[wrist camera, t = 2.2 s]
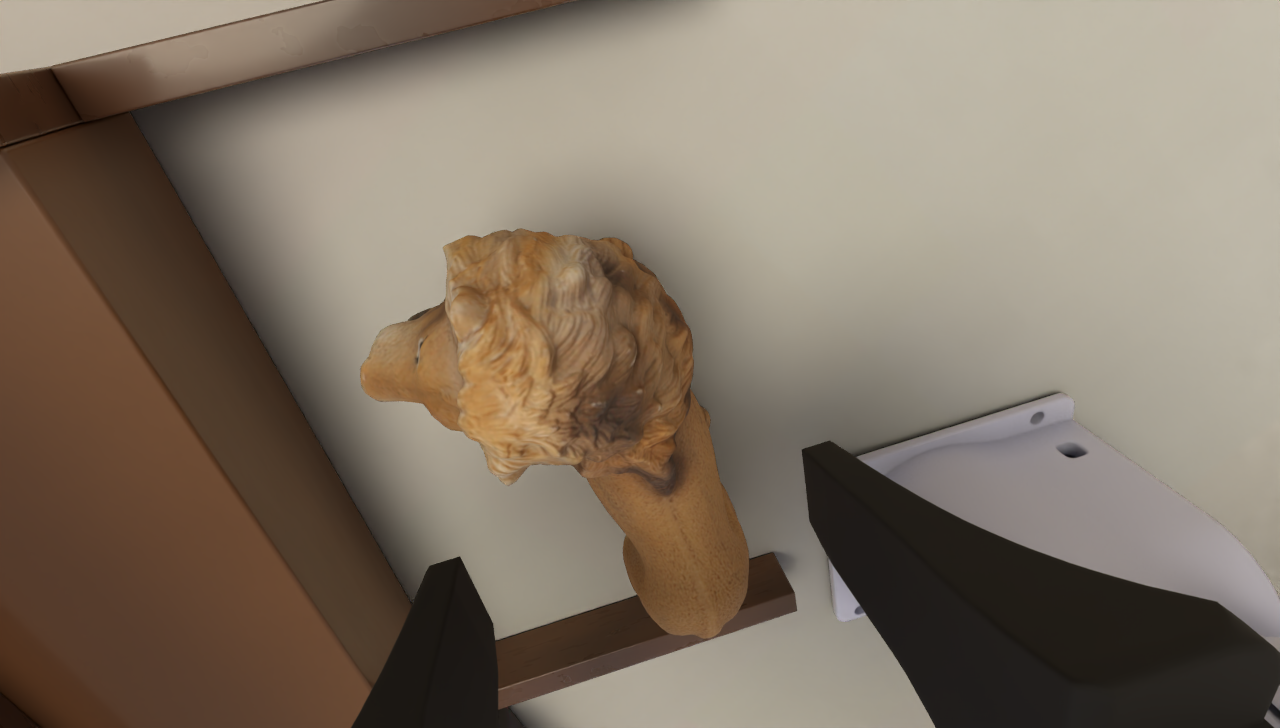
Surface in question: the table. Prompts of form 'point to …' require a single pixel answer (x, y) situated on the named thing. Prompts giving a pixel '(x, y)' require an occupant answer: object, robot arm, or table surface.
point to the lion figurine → (581, 402)
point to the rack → (199, 430)
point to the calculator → (507, 719)
